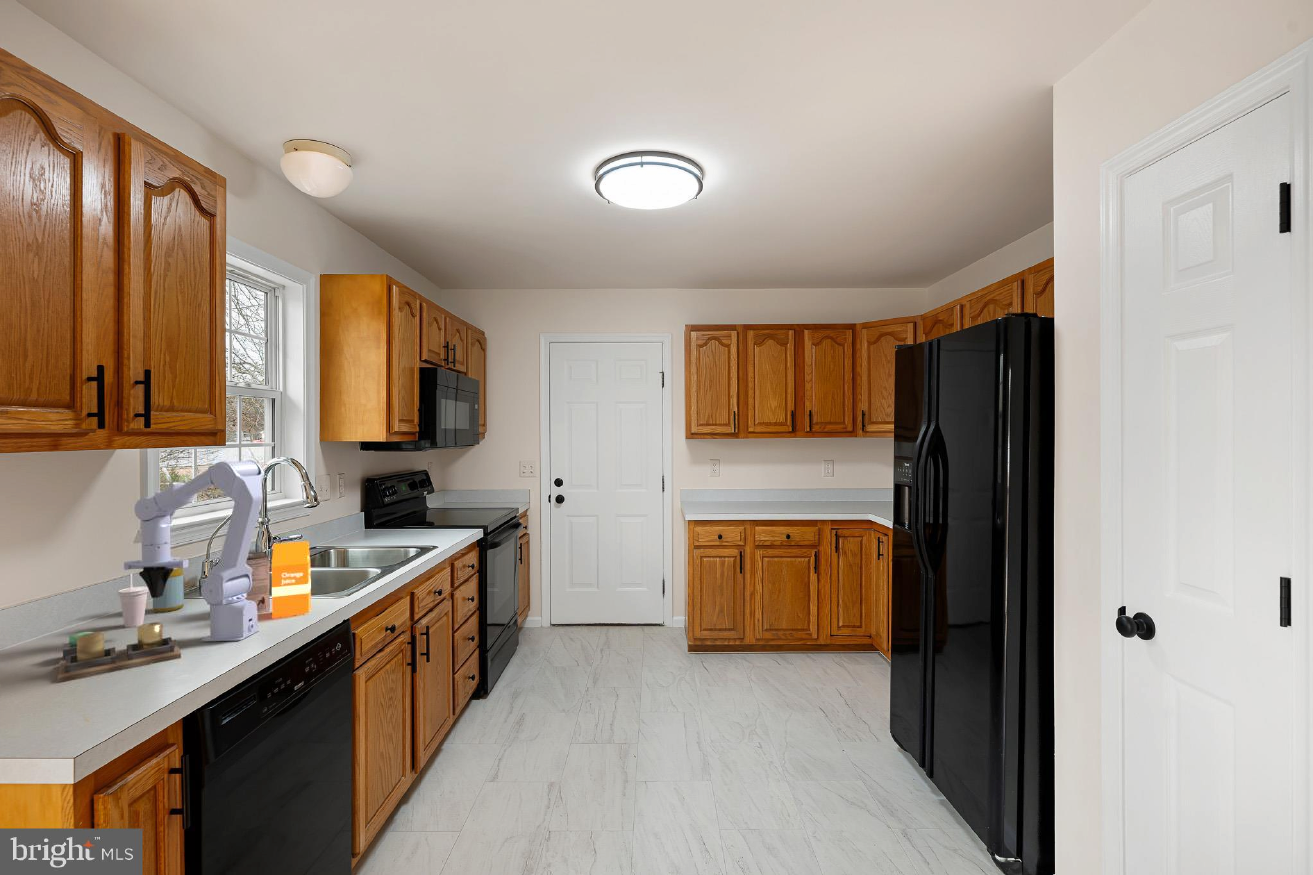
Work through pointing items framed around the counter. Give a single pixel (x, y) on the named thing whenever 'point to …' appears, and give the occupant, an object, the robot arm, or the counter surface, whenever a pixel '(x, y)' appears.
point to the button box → (69, 650)
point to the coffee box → (259, 580)
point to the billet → (150, 636)
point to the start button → (74, 638)
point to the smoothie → (133, 604)
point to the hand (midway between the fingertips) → (157, 596)
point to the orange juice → (291, 579)
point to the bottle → (171, 592)
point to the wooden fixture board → (111, 657)
